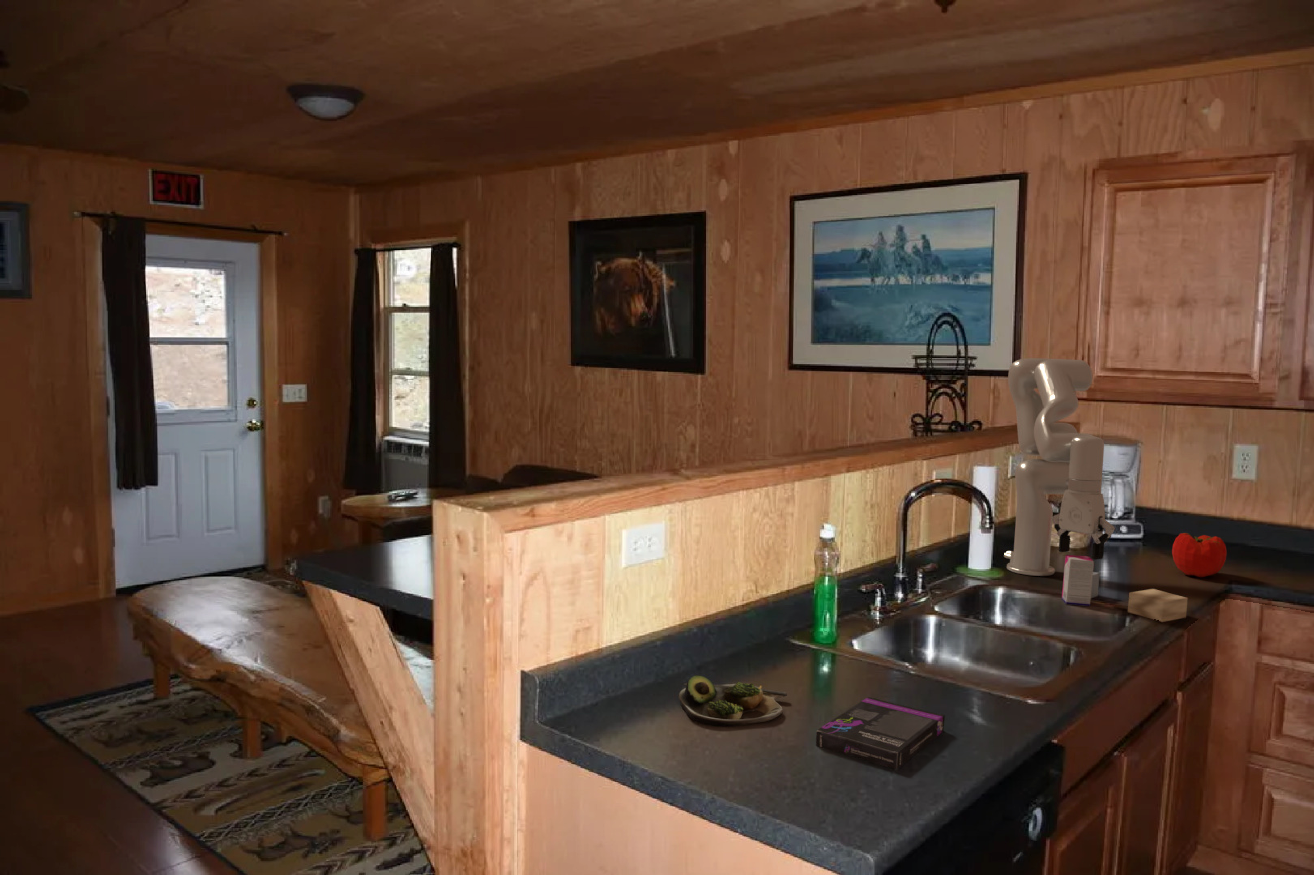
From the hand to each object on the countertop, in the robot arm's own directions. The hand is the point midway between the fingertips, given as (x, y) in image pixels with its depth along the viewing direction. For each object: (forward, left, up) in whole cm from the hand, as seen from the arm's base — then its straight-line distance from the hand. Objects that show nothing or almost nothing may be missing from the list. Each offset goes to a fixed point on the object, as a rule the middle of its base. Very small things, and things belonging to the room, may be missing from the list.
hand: (1080, 555), depth 246 cm
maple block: (+15, +10, -12) cm, 22 cm away
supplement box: (-1, 0, -12) cm, 12 cm away
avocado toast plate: (+21, -117, -13) cm, 119 cm away
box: (+43, -101, -13) cm, 110 cm away
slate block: (-5, +8, -12) cm, 16 cm away
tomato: (-7, +58, -12) cm, 60 cm away
